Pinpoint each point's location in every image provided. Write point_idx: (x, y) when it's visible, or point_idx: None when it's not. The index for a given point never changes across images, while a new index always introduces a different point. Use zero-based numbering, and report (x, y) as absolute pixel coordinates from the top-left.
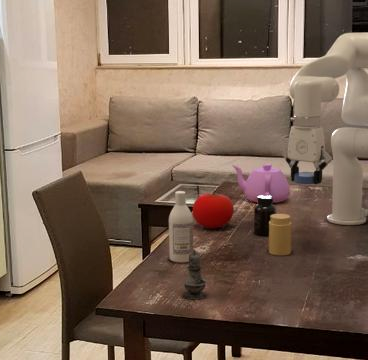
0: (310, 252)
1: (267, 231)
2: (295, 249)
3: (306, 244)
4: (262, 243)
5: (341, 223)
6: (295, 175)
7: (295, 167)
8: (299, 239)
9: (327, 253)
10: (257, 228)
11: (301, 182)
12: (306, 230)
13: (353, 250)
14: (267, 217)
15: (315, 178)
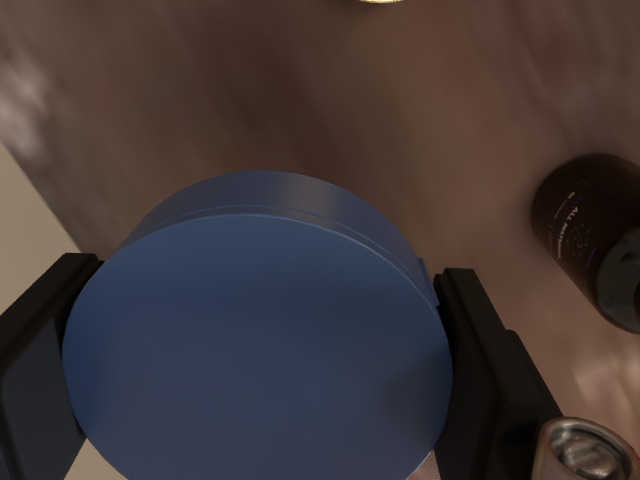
0: (227, 39)
1: (564, 177)
2: (320, 40)
3: (316, 157)
4: (529, 33)
5: None
6: (379, 250)
7: (488, 476)
8: (386, 213)
9: (151, 77)
10: (631, 165)
11: (243, 176)
12: None
13: (90, 196)
14: (605, 207)
15: (29, 291)
